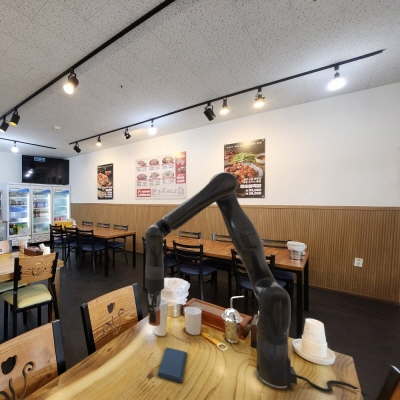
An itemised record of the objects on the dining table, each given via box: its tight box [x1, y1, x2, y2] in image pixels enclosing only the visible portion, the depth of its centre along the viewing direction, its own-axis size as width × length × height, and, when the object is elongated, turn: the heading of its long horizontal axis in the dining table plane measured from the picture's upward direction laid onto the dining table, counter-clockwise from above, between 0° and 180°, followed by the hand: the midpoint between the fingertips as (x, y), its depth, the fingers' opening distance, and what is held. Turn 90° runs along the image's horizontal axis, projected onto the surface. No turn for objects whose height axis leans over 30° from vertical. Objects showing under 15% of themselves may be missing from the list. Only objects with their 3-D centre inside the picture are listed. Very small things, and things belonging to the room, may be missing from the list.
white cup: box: [184, 306, 203, 336], centre depth 109 cm, size 8×8×10 cm
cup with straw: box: [221, 295, 245, 344], centre depth 102 cm, size 8×9×20 cm
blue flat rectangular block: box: [157, 347, 187, 384], centre depth 86 cm, size 8×16×1 cm, turn 158°
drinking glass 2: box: [154, 298, 169, 337], centre depth 107 cm, size 7×7×15 cm
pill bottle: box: [147, 306, 160, 327], centre depth 89 cm, size 5×5×6 cm
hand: (154, 319), depth 89 cm, fingers closed on pill bottle, 4 cm apart
